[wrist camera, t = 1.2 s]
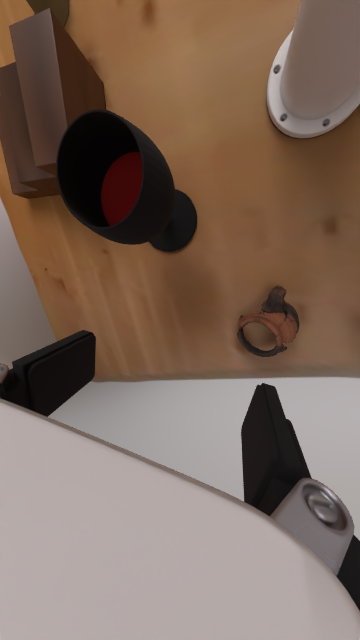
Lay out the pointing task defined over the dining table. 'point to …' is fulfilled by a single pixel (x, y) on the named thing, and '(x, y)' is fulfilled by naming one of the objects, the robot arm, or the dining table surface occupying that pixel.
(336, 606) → the robot arm
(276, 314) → the brown twisted piece
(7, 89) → the spice rack
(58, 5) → the olive peg figure
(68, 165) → the wine glass
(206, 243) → the dining table surface
